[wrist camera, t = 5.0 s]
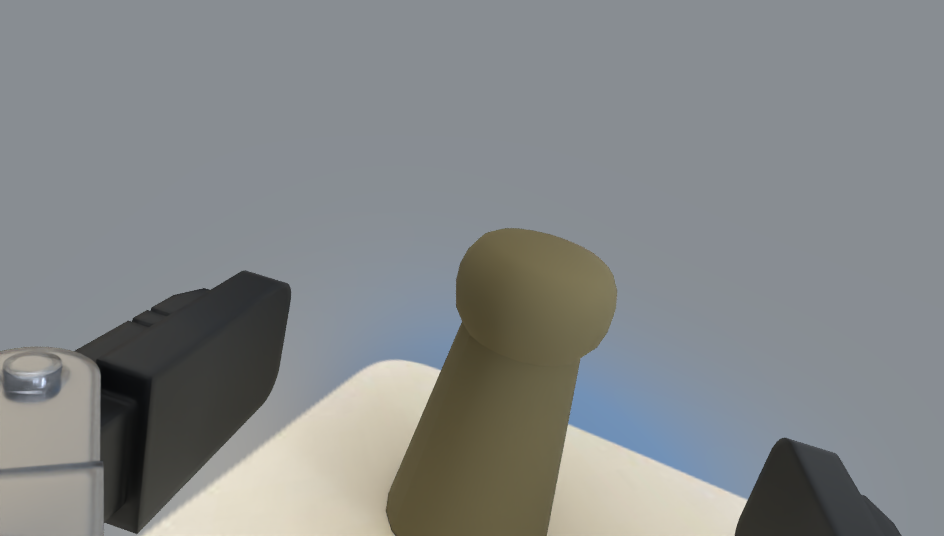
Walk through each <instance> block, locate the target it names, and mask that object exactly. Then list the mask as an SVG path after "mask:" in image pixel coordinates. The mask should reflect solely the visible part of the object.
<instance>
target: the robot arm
mask: <svg viewBox="0 0 944 536" xmlns="http://www.w3.org/2000/svg"><path fill="white" fill-rule="evenodd" d="M290 300H291V289H290V286H289V284H287V283H285V282H281V281H278V280H275V279H272V278H268V277H265V276H262V275H259V274H255V273H252V272H248V271H241V272H240V273H238V274H236V275H235V276H233V277H231V278H230V279H228V280H226V281H225V282H223V283H221V284H220V285H218V286H216V287H215V288H213V289H211V290H208V289H205V288H203V289H199V290H194V291H190V292H185V293H181V294H177V295H173V296H171V297H170V298H168V299H166V300H164V301H162V302H161V303H159V304H157V305H155V306H154V307H152V308H151V311H149V310H147V311H145V312H143V313H141V314H140V315H138V316H136V317H134V318H133V320H132V322H131V321H127V322H125V323H123V324H122V325H120V326H118V327H116V328H115V329H113V330H111V331H109V332H108V333H106V334H104V335H102V336H100V337H98V338H97V339H95V340H93V341H91V342H90V343H88V344H86V345H84V346H83V347H81V348H79V349H77V350H76V351H70V350H66V349H61V348H53V347H23V348H14V349H10V350H4V351H0V536H104V523H107V524H110V525H113V526H116V527H119V528H122V529H124V530H127V531H130V532H133V533H136V534H138V533H139V531H140V530H141V529H142V528H143V527H144V526H145V525H146V524H147V523H148V522H149V521H150V520H151V519H152V518H153V517H154V516H155V515H156V514H157V513H158V512H159V511H160V510H161V509H162V508H163V506H165V505H166V504H167V502H169V501H170V499H171V498H172V497H173V496H174V495H175V494H176V493H177V492H178V491H179V490H180V489H181V488H182V487H183V486H184V485H185V484H186V483H187V482H188V481H189V480H190V479H191V478H192V477H193V476H194V475H195V474H196V473H197V472H198V471H199V470H200V469H201V468H202V466H204V464H205V463H206V462H207V461H208V460H209V459H210V458H211V457H212V456H213V455H214V454H215V453H216V452H217V451H218V450H219V449H220V448H221V447H222V446H223V445H224V444H225V443H226V442H227V441H228V440H229V439H230V438H231V437H232V435H234V434H235V433H236V431H237V430H238V429H239V428H240V427H241V426H242V425H243V424H244V423H245V422H246V421H247V420H248V419H249V418H250V417H251V416H252V415H253V414H254V413H255V412H256V411H257V410H258V409H259V408H260V407H261V406H262V404H263V403H264V402H265V401H266V399H267V397H268V396H269V394H270V392H271V390H272V388H273V386H274V384H275V381H276V378H277V375H278V371H279V366H280V360H281V354H282V348H283V343H284V337H285V331H286V325H287V319H288V312H289V307H290ZM735 536H901V534H900V533H899V531H898V529H897V528H896V526H895V524H894V523H893V522H892V521H891V520H889V518H888V517H887V516H886V515H885V514H884V513H882V511H880V510H879V509H878V508H877V507H876V506H875V505H874V504H873V503H872V502H871V501H870V500H869V499H868V498H867V497H866V496H864V495H861V494H860V492H859V491H858V489H857V487H856V486H855V484H854V482H853V481H852V479H851V477H850V475H849V474H848V472H847V470H846V469H845V467H844V465H843V463H842V462H841V460H840V458H839V457H838V455H837V454H835V453H833V452H830V451H826V450H823V449H820V448H817V447H814V446H810V445H807V444H804V443H801V442H797V441H794V440H791V439H787V438H782V439H780V440H779V441H777V442H776V444H775V445H774V447H773V448H772V450H771V452H770V454H769V456H768V458H767V460H766V462H765V464H764V467H763V469H762V471H761V473H760V475H759V477H758V480H757V482H756V484H755V486H754V488H753V490H752V493H751V495H750V497H749V499H748V501H747V503H746V505H745V507H744V510H743V512H742V514H741V516H740V518H739V521H738V524H737V528H736V532H735Z"/></svg>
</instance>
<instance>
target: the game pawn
mask: <svg viewBox="0 0 944 536" xmlns="http://www.w3.org/2000/svg"><path fill="white" fill-rule="evenodd" d="M616 297H617V288H616V285H615V280H614V276H613V274H612V272H611V271H610V269H609V267H608V266H607V265H606V264H605V263H604V262H603V261H602V260H601V259H600V258H599V257H597V256H596V255H595V254H594V253H592V252H590V251H589V250H587V249H585V248H583V247H581V246H579V245H577V244H574V243H572V242H570V241H568V240H565V239H562V238H559V237H556V236H553V235H550V234H546V233H542V232H537V231H532V230H524V229H516V228H515V229H514V228H510V229H509V228H505V229H500V230H496V231H492V232H488V233H485V234H484V235H483V236H482V237H480V238H479V239H478V240H477V241H476V242H475V243H474V244H473V245H472V246H471V247H470V248H469V249H468V250H467V252H466V254H465V256H464V258H463V259H462V261H461V263H460V267H459V271H458V275H457V279H456V307H457V310H458V312H459V315H460V317H461V319H462V323H461V326H460V328H459V330H458V332H457V335H456V337H455V339H454V342H453V344H452V346H451V349H450V351H449V353H448V356H447V358H446V360H445V363H444V365H443V367H442V370H441V372H440V374H439V377H438V379H437V381H436V384H435V386H434V388H433V391H432V393H431V395H430V398H429V400H428V402H427V405H426V407H425V409H424V412H423V414H422V416H421V419H420V421H419V423H418V426H417V428H416V430H415V433H414V435H413V437H412V440H411V442H410V444H409V447H408V449H407V451H406V454H405V456H404V458H403V461H402V463H401V465H400V468H399V470H398V472H397V475H396V477H395V479H394V482H393V484H392V486H391V489H390V491H389V494H388V501H387V508H386V512H387V515H388V519H389V522H390V525H391V529H392V531H393V532H394V533H395V535H396V536H547V530H548V525H549V520H550V515H551V509H552V504H553V499H554V494H555V489H556V483H557V478H558V473H559V468H560V462H561V457H562V452H563V447H564V442H565V436H566V431H567V426H568V421H569V415H570V410H571V405H572V400H573V395H574V389H575V384H576V379H577V374H578V368H579V363H580V358H581V357H583V356H584V355H586V354H587V353H589V352H591V351H592V350H594V349H595V348H597V346H598V345H599V344H600V342H601V341H602V339H603V338H604V337H605V335H606V333H607V332H608V329H609V326H610V324H611V321H612V319H613V316H614V312H615V309H616V299H617V298H616Z"/></svg>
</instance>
